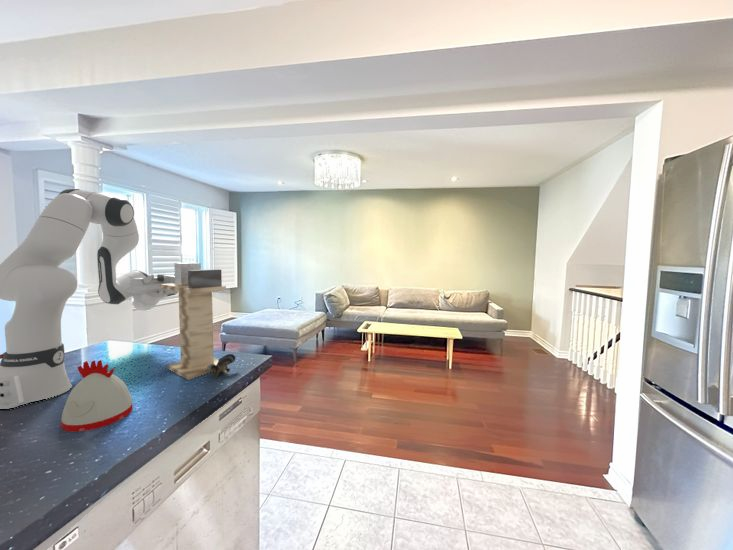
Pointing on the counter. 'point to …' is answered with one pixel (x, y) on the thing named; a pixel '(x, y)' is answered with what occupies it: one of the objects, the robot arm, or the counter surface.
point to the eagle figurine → (222, 364)
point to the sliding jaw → (179, 273)
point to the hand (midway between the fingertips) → (165, 275)
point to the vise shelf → (196, 322)
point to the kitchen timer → (96, 399)
